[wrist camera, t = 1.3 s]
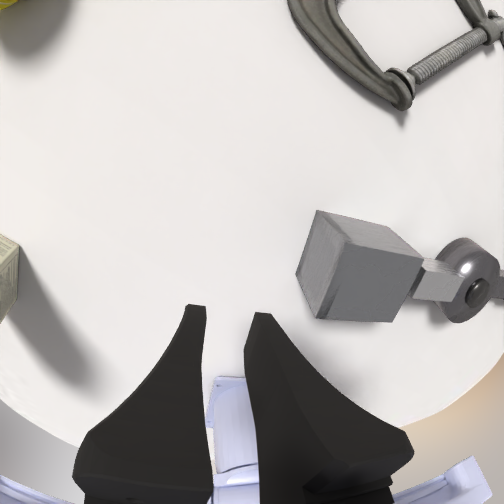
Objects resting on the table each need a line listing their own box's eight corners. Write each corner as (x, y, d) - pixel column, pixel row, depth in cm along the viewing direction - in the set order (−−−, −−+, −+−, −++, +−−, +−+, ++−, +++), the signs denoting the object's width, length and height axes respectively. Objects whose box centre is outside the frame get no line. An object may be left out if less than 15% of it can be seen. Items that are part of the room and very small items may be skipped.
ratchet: (531, 261, 26) (551, 277, 22) (508, 306, 29) (525, 324, 25) (411, 220, 21) (443, 244, 17) (378, 295, 24) (401, 327, 20)
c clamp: (441, -68, 9) (458, -76, 6) (518, 90, 16) (538, 94, 14) (246, -32, 12) (252, -50, 10) (378, 180, 20) (398, 192, 17)
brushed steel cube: (387, 226, 21) (424, 258, 16) (363, 283, 23) (392, 322, 19) (316, 209, 20) (345, 243, 15) (295, 274, 22) (315, 318, 17)
